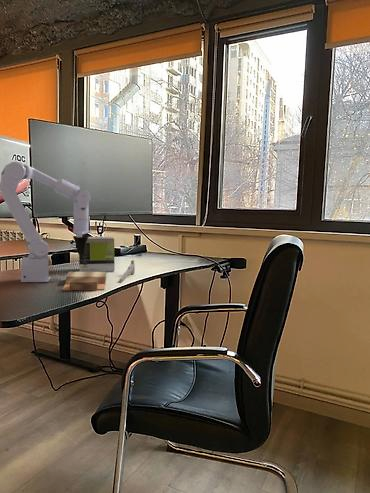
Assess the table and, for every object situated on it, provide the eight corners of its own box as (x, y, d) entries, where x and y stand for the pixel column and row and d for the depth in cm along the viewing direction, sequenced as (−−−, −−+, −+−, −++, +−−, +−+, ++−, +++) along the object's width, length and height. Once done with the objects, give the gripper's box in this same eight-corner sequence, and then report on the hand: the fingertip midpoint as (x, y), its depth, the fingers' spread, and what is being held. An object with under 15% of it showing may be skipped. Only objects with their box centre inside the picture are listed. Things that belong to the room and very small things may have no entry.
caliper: (132, 274, 169) (132, 259, 168) (134, 274, 169) (134, 259, 168) (118, 283, 149) (118, 267, 148) (121, 283, 148) (121, 267, 148)
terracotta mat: (62, 290, 134) (62, 289, 134) (65, 284, 142) (65, 283, 142) (104, 289, 136) (104, 288, 136) (105, 284, 144) (105, 283, 144)
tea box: (113, 268, 181) (113, 236, 179) (114, 272, 171) (114, 238, 170) (79, 268, 177) (79, 235, 176) (78, 272, 168) (78, 238, 166)
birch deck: (65, 284, 142) (65, 276, 142) (69, 279, 152) (69, 271, 152) (105, 284, 145) (105, 276, 144) (106, 279, 155) (106, 271, 154)
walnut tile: (71, 278, 139) (71, 285, 139) (69, 282, 133) (69, 289, 133) (97, 278, 140) (97, 285, 140) (96, 282, 134) (96, 289, 134)
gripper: (90, 220, 148) (90, 256, 149) (92, 219, 162) (92, 251, 164) (70, 220, 147) (70, 256, 148) (75, 218, 161) (75, 251, 162)
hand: (81, 254), depth 156 cm, fingers closed
